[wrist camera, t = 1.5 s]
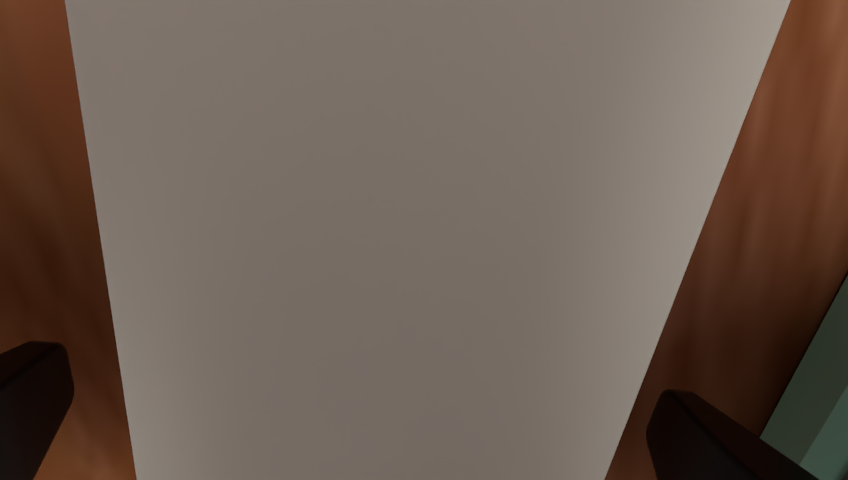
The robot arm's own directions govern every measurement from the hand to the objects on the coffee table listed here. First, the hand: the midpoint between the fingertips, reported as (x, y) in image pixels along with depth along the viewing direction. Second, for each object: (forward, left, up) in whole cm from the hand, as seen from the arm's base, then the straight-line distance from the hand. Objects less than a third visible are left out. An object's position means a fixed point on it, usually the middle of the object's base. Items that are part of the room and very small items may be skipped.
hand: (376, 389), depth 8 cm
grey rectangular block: (0, 0, -2) cm, 2 cm away
